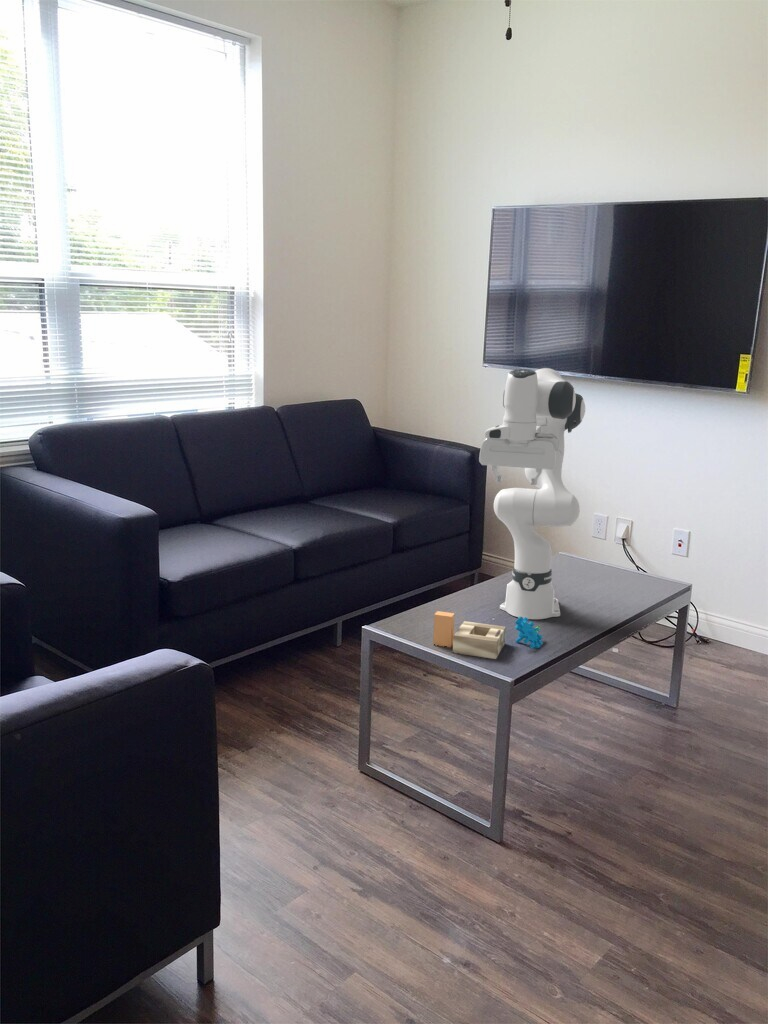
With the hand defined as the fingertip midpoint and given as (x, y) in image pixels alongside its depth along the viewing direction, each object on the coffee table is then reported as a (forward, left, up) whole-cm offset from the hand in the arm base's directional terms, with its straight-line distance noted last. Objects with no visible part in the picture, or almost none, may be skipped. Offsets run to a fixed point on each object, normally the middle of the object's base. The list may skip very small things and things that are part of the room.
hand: (516, 483), depth 231 cm
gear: (-4, +5, -47) cm, 47 cm away
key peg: (+5, -17, -46) cm, 50 cm away
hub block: (+4, -7, -46) cm, 47 cm away
